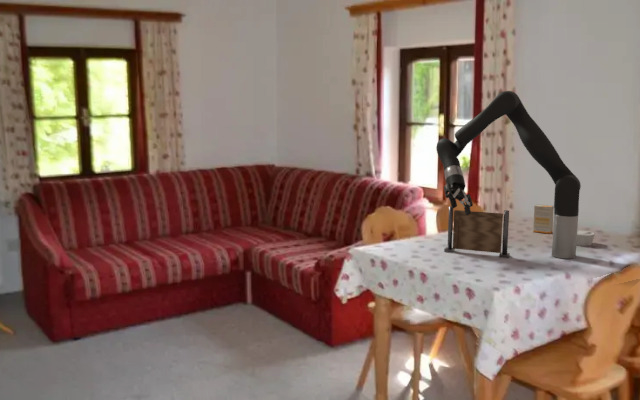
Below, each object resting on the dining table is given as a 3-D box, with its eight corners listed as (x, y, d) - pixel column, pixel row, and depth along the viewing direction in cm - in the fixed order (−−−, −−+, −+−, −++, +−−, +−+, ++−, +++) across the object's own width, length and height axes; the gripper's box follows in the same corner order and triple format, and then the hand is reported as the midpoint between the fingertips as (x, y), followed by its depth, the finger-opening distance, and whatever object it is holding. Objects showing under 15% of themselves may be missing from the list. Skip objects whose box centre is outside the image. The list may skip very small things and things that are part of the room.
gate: (501, 252, 272) (502, 213, 270) (500, 253, 270) (501, 214, 267) (453, 247, 280) (455, 210, 277) (452, 248, 278) (454, 211, 275)
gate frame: (509, 256, 272) (511, 210, 269) (508, 258, 268) (510, 211, 265) (446, 249, 282) (447, 205, 279) (444, 251, 279) (445, 207, 276)
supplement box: (552, 232, 319) (554, 205, 317) (550, 234, 315) (551, 206, 313) (535, 230, 323) (536, 203, 321) (532, 232, 319) (534, 205, 317)
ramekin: (596, 247, 288) (597, 235, 287) (569, 246, 290) (569, 234, 289) (591, 241, 299) (592, 230, 298) (565, 240, 301) (565, 229, 300)
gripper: (449, 168, 272) (456, 200, 262) (472, 180, 279) (480, 212, 270) (436, 177, 276) (442, 209, 267) (459, 189, 284) (466, 220, 274)
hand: (461, 210), depth 268 cm, fingers open, 8 cm apart
